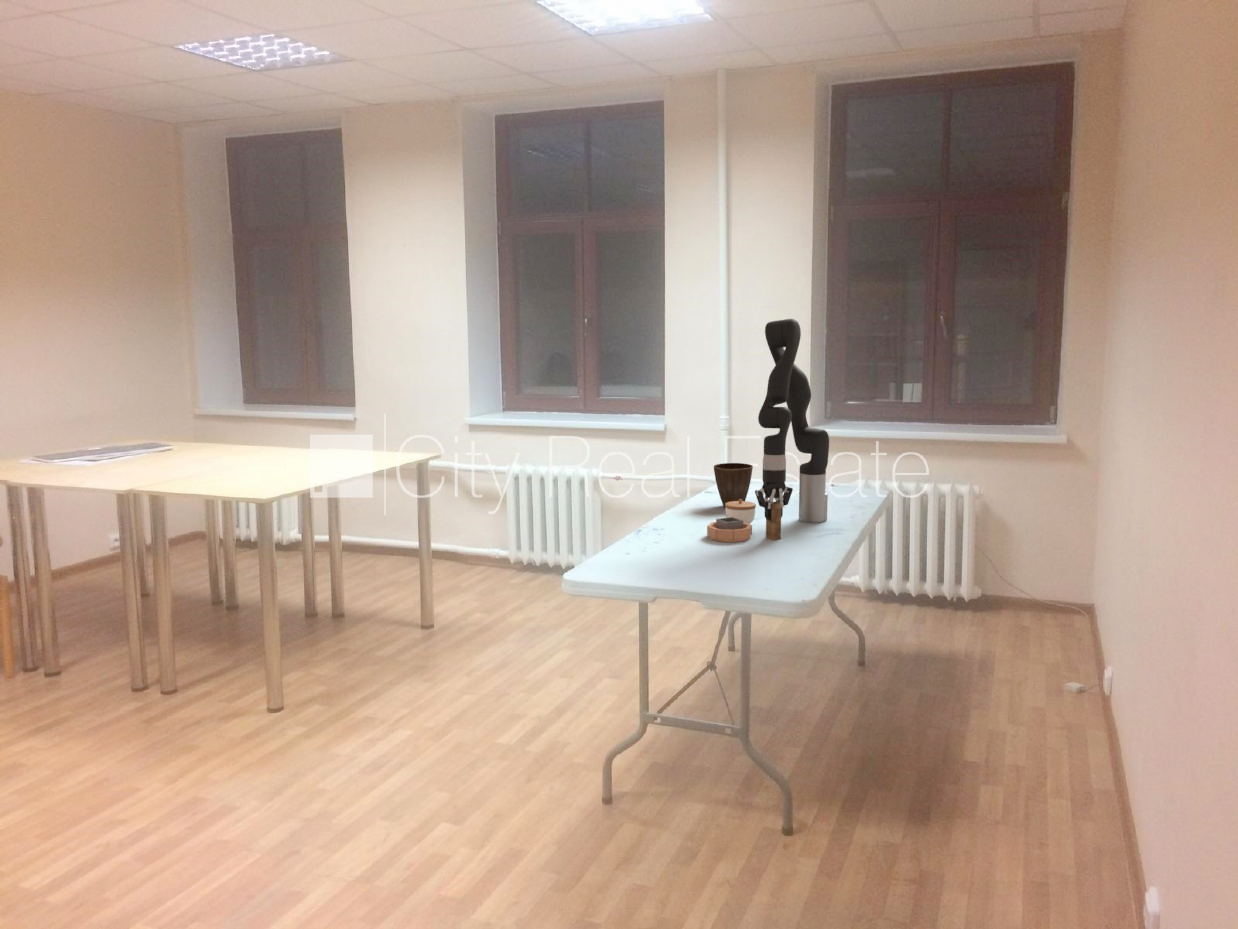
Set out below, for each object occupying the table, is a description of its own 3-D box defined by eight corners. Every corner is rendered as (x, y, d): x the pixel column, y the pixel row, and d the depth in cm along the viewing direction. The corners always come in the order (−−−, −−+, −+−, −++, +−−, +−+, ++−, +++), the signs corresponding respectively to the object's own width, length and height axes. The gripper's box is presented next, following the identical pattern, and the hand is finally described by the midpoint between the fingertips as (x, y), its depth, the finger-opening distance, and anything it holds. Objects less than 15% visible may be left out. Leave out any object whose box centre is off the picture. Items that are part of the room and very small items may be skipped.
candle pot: (736, 531, 333) (736, 513, 332) (758, 539, 320) (759, 521, 319) (700, 535, 327) (700, 517, 326) (722, 544, 314) (722, 526, 314)
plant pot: (733, 512, 363) (733, 470, 361) (705, 506, 375) (705, 465, 372) (760, 507, 373) (760, 466, 370) (732, 501, 384) (732, 461, 382)
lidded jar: (754, 529, 335) (754, 502, 334) (723, 528, 338) (723, 501, 336) (756, 522, 346) (756, 496, 344) (726, 521, 348) (726, 496, 346)
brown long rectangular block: (774, 536, 324) (775, 501, 322) (780, 538, 321) (781, 503, 319) (765, 537, 322) (766, 502, 321) (771, 540, 319) (772, 504, 317)
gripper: (785, 464, 324) (784, 514, 327) (749, 467, 318) (749, 518, 321) (798, 467, 317) (797, 518, 320) (762, 470, 312) (761, 523, 314)
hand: (773, 518), depth 320 cm, fingers closed on brown long rectangular block, 3 cm apart
